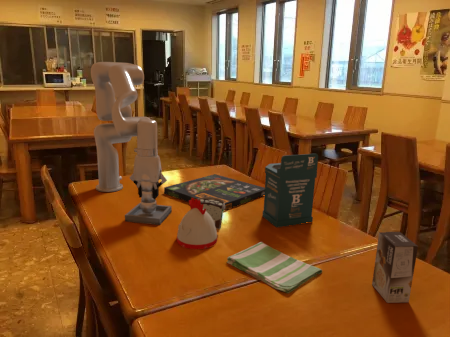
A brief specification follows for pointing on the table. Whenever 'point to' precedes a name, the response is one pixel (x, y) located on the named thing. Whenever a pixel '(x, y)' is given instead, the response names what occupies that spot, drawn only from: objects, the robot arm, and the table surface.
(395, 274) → the coffee box
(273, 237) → the table surface
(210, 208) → the food container
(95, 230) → the table surface
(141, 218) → the tray
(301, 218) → the donation box
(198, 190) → the pizza box
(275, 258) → the dish towel
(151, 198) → the plastic bottle
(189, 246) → the kitchen timer
